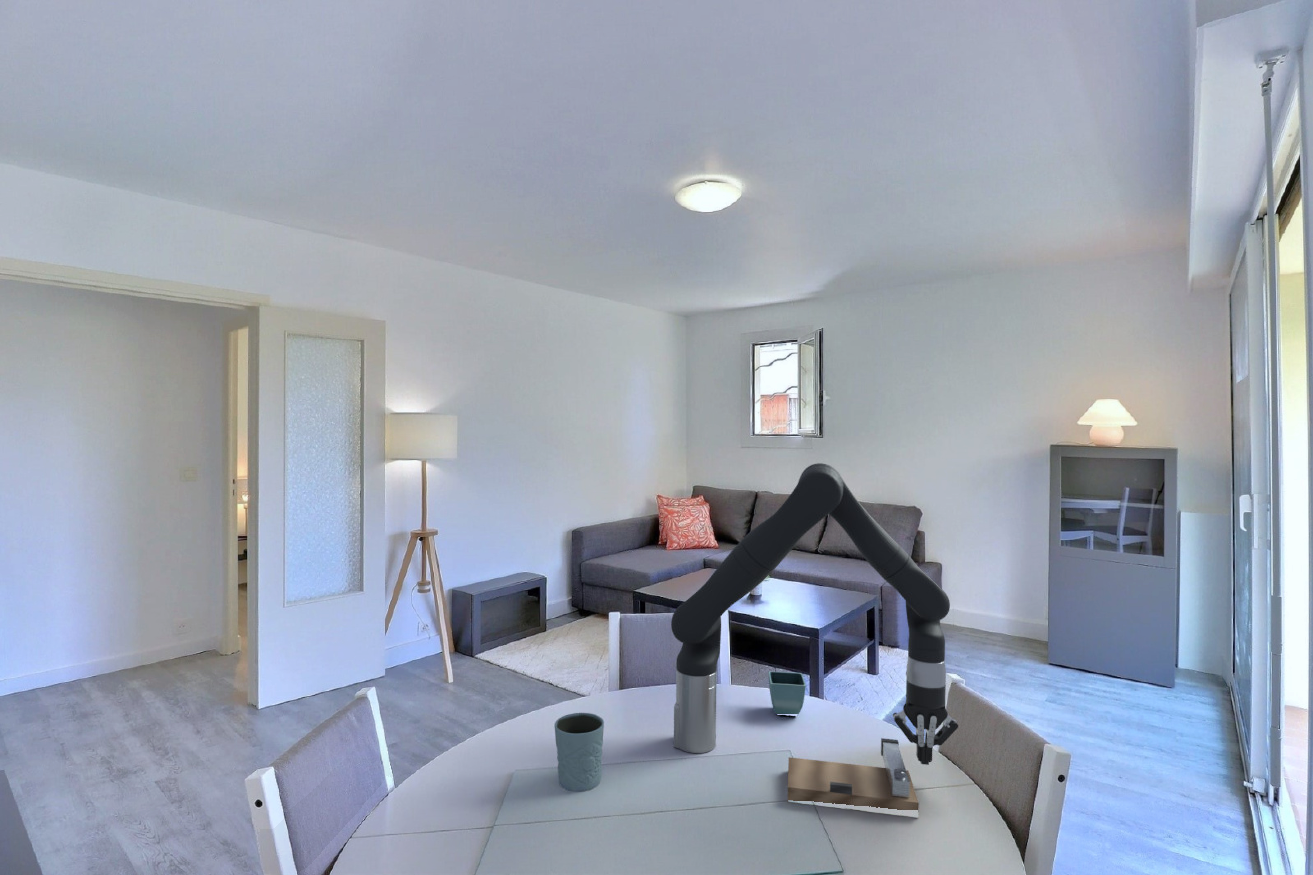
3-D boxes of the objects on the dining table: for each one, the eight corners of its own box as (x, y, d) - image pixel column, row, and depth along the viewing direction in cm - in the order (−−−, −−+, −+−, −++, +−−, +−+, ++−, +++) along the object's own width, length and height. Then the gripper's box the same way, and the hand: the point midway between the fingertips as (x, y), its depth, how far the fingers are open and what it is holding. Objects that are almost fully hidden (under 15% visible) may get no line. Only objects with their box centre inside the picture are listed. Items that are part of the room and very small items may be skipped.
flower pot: (801, 706, 175) (802, 672, 175) (805, 721, 167) (806, 685, 166) (767, 704, 176) (768, 670, 176) (769, 719, 168) (770, 683, 167)
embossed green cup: (595, 796, 132) (595, 736, 132) (546, 790, 134) (547, 731, 134) (609, 770, 142) (609, 714, 142) (563, 765, 144) (564, 709, 144)
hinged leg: (910, 797, 127) (910, 777, 127) (891, 795, 128) (891, 775, 128) (897, 754, 144) (897, 736, 143) (880, 753, 144) (881, 735, 144)
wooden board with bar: (787, 802, 131) (787, 779, 131) (788, 771, 142) (788, 750, 142) (918, 818, 126) (918, 794, 126) (908, 785, 137) (908, 763, 137)
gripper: (894, 683, 136) (893, 768, 136) (964, 689, 133) (963, 775, 134) (889, 670, 143) (888, 750, 144) (955, 675, 141) (954, 757, 141)
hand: (924, 762), depth 139 cm, fingers closed
